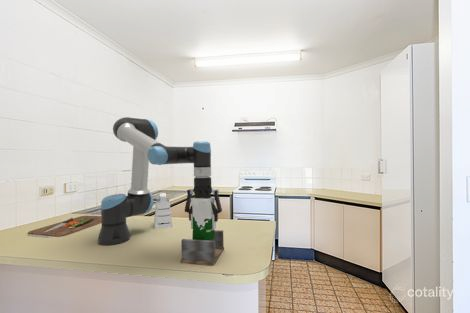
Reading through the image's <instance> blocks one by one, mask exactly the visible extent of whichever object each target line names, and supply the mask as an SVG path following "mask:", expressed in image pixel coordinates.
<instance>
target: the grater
mask: <svg viewBox="0 0 470 313" xmlns="http://www.w3.org/2000/svg"><path fill="white" fill-rule="evenodd" d="M155 201H156V202H155V213H154V223H153V225H154V226H155V227H154V226H153V227H154V230H158V229H159V228H161V229H167V228H168V227H169V228H173V226H174V224H173V218H172V211H171V204H170V200H169V199H168V198H167V194H166V193H165V192H163V193H159V198H158V199H157V200H155ZM161 223H164V224H161ZM159 230H160V229H159Z"/></svg>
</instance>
